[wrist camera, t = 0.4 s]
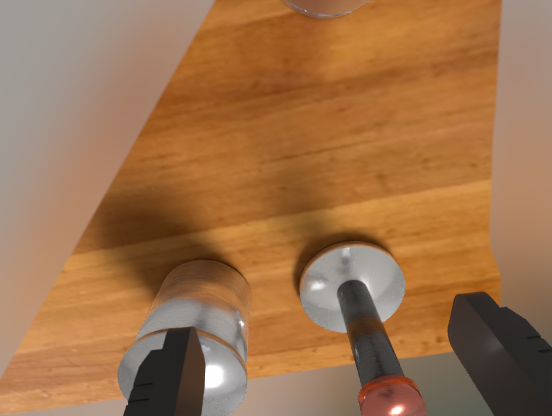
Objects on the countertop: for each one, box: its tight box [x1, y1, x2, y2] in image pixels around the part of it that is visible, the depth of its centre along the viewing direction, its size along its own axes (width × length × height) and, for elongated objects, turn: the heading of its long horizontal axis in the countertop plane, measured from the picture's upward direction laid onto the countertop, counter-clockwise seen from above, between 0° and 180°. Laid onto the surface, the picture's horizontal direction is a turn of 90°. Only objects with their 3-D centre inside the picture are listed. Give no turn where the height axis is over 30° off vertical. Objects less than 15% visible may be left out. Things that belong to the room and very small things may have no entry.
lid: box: [299, 241, 426, 416], centre depth 27 cm, size 10×10×13 cm
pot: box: [118, 260, 252, 416], centre depth 29 cm, size 9×9×10 cm
